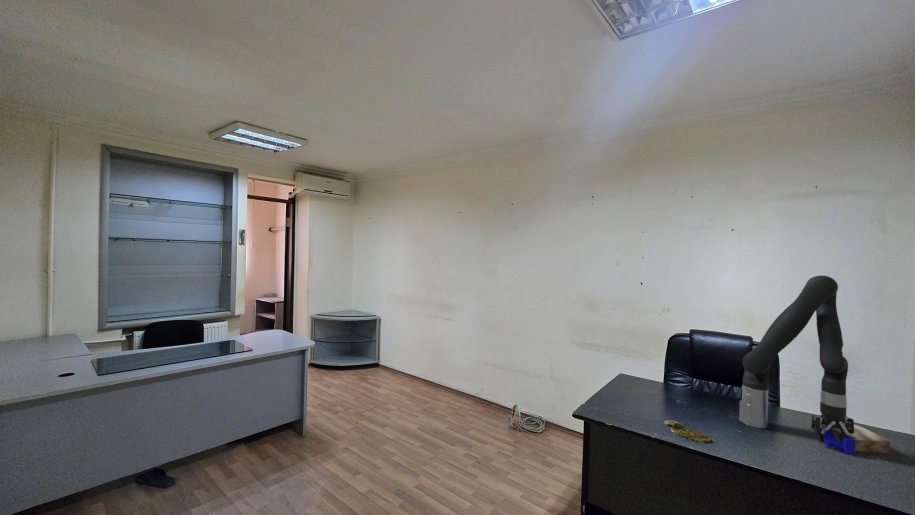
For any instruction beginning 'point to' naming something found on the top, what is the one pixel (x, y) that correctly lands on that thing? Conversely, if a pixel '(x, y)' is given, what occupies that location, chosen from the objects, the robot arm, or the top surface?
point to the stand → (865, 440)
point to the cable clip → (845, 446)
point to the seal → (690, 433)
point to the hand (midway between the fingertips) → (832, 442)
